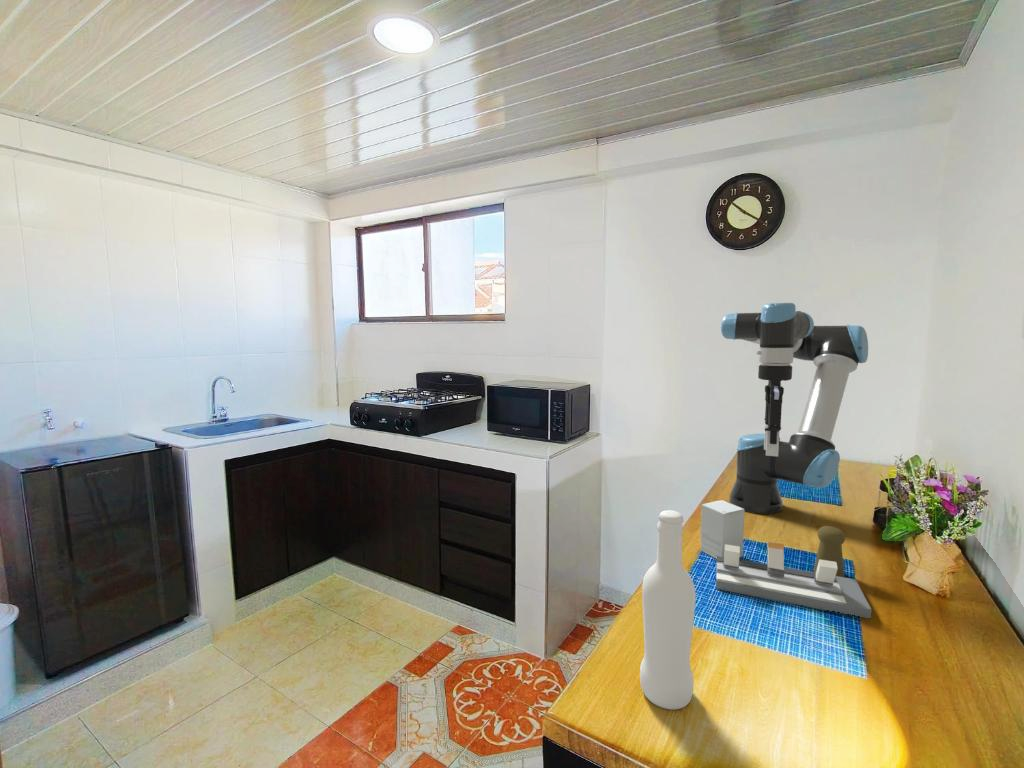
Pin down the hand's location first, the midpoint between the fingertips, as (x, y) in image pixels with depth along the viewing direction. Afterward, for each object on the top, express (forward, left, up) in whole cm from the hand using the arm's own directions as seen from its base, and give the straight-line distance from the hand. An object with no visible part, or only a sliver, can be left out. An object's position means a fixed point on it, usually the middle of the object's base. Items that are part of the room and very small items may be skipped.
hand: (770, 452), depth 122 cm
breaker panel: (+23, +2, -25) cm, 34 cm away
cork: (+12, +12, -25) cm, 30 cm away
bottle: (+64, -19, -25) cm, 71 cm away
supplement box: (+11, -11, -25) cm, 29 cm away
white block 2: (+23, +9, -21) cm, 33 cm away
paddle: (+23, 0, -21) cm, 31 cm away
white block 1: (+23, -9, -21) cm, 33 cm away
